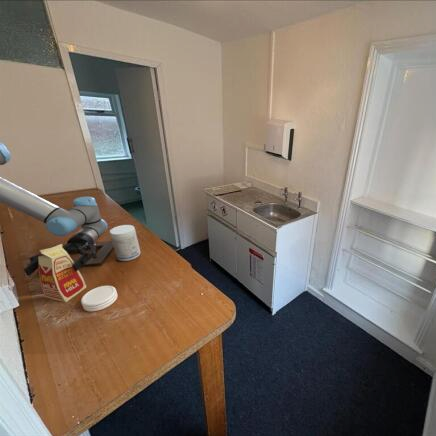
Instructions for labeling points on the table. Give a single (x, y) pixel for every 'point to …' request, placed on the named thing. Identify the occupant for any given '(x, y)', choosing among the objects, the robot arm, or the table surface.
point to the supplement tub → (125, 242)
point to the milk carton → (59, 274)
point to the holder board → (100, 254)
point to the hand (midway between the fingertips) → (51, 270)
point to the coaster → (99, 298)
